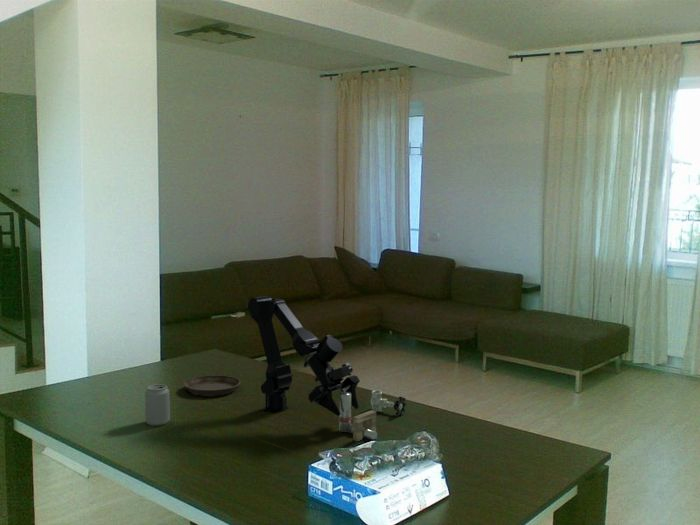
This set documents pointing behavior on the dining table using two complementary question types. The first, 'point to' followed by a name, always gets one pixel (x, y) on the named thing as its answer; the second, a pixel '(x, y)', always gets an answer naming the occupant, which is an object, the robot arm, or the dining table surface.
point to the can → (157, 405)
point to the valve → (386, 403)
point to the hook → (350, 417)
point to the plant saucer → (211, 385)
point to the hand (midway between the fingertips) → (348, 411)
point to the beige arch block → (358, 424)
